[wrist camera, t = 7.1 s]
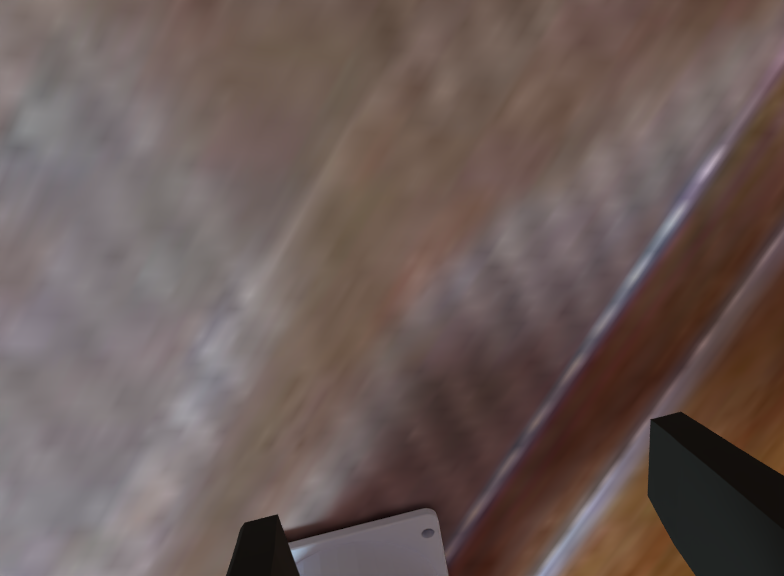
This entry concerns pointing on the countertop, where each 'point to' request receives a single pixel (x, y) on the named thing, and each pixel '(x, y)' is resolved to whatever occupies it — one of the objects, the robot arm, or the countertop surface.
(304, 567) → the robot arm
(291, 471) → the countertop surface
